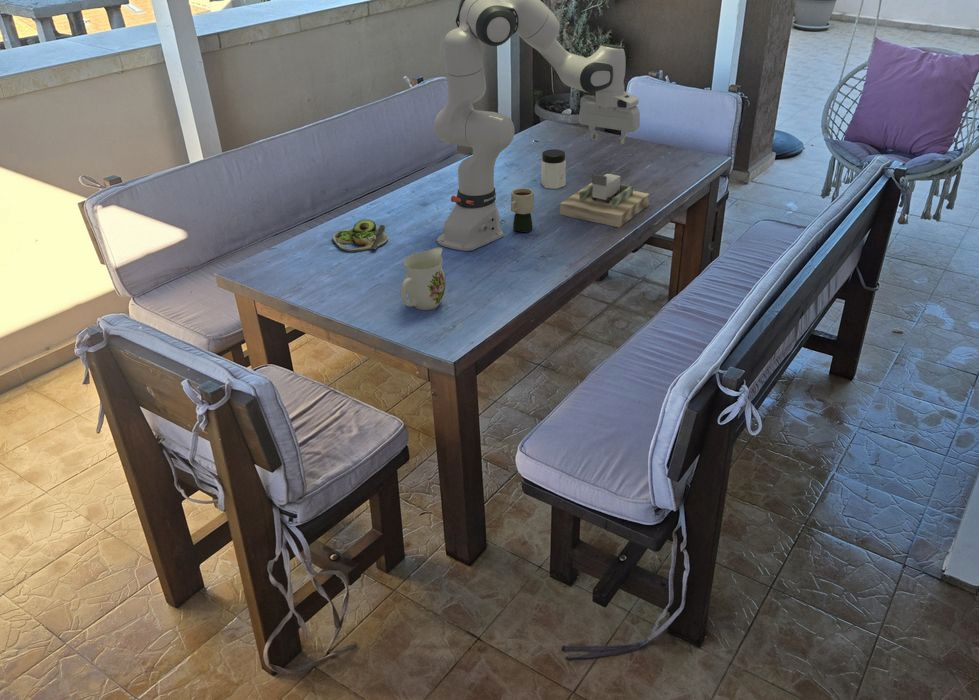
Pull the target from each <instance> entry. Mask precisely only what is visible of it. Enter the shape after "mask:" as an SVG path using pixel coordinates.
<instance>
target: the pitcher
mask: <svg viewBox="0 0 979 700" xmlns="http://www.w3.org/2000/svg"><path fill="white" fill-rule="evenodd" d="M442 252H443V248H442V247H435V248H431V249H428V250H425V251H420V252H416V253H413V254H411V255H409V256H407V257H406V258H405V259H404V260H403V265H404V269H405V274H404V280H403V281H402V283H401V286H400V297H401V300H402V303H403V304H404V305H405V306H407V307H415V309H418V310H422V311H430V310H434V309H436V308H438V307H439V305H440V304H441V303H442V300H443V299H444V295H445V291H446V277H445V272H444V270H443V268H442V267H443V256H442ZM407 298H408V299H407Z"/></svg>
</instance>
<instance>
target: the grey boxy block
mask: <svg viewBox="0 0 979 700" xmlns="http://www.w3.org/2000/svg"><path fill="white" fill-rule="evenodd" d="M591 183H592V184H593V194H592V200H596V199H597V198H599V199H604V200H605V202H606V203H610V201H611V198H610V197H611V196H612V195H614V194H615V196H617V195H618V194H620V184H621V175H617V174H611V173H606V174H604V175H600V174H597V173H596V174H595V173H593V174H591Z"/></svg>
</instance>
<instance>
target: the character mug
mask: <svg viewBox="0 0 979 700" xmlns="http://www.w3.org/2000/svg"><path fill="white" fill-rule="evenodd" d="M510 197H511V198H510V201H511V202H510V211H511V212H512V213H514V217H513V224H512V229H513V230H514V231H515V232H523V233H525V232H527V233H528V232H531V231H532V230H533V227H534V226H533V219H532V218H533V217H532V214H531V213H532V212H534V209H535V204H534V203H535V193H534V190H533V189H531V188H525V187H521V188H514V189H513V190H511V193H510Z"/></svg>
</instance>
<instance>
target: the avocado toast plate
mask: <svg viewBox="0 0 979 700" xmlns="http://www.w3.org/2000/svg"><path fill="white" fill-rule="evenodd" d="M385 228H386V226H385V225H383V224H380V225H377V224H376V223H375V221H373V220H372V219H367V218H366V219H362V220H359V221H356V223H354V226H353V227H352V228H346V229H340V230H338V231H336V232H335V233H333V235H332V236H331V237H332V241H333V243H335V244H336V246H337V247H339V248H340V249H341V250H344V251H346V252H354V253H358V252H364V251H368V250H376V249H377V248H378V247H380V246H382V245H384V244H386V242H388V240H389V236H388V234H387V233H386V232H384V231H385ZM345 245H356V246H357V247H347V246H345Z"/></svg>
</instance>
